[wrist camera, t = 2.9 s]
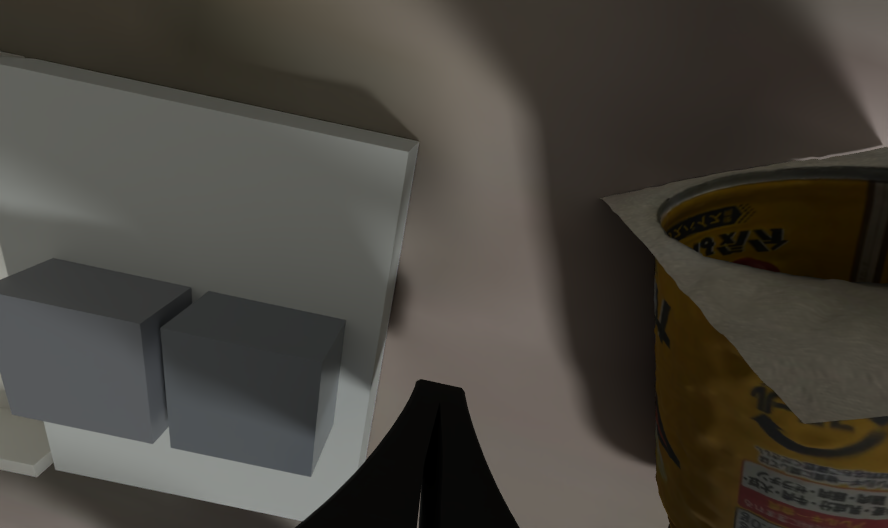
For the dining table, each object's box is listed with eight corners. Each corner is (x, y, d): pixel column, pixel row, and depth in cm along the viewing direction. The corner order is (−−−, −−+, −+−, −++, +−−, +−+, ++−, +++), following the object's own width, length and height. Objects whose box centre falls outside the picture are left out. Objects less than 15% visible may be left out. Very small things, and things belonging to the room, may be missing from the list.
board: (361, 483, 18) (347, 530, 16) (100, 428, 17) (55, 469, 16) (419, 141, 12) (408, 151, 10) (35, 58, 12) (-46, 54, 10)
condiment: (598, 191, 12) (617, 477, 17) (807, 412, 4) (732, 815, 9) (888, 137, 11) (818, 460, 16) (1812, 311, 3) (1133, 827, 8)
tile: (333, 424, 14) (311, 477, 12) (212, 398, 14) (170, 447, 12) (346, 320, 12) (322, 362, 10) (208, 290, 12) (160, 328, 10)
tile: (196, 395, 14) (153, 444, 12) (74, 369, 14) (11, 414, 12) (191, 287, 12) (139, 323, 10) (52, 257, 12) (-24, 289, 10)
